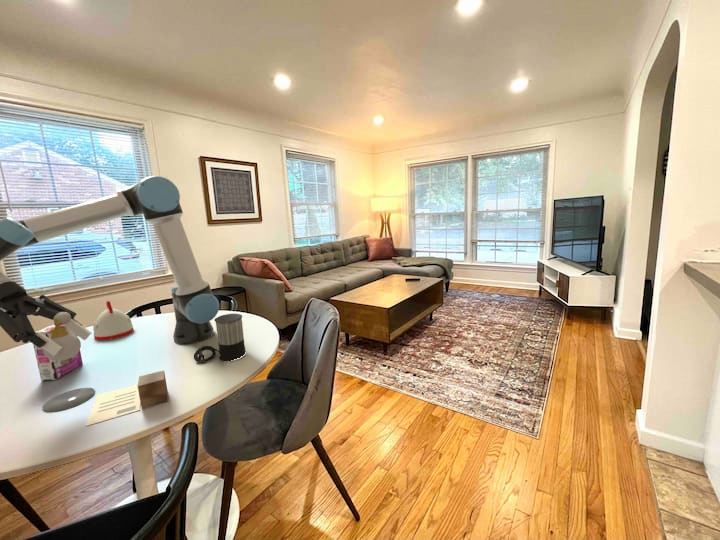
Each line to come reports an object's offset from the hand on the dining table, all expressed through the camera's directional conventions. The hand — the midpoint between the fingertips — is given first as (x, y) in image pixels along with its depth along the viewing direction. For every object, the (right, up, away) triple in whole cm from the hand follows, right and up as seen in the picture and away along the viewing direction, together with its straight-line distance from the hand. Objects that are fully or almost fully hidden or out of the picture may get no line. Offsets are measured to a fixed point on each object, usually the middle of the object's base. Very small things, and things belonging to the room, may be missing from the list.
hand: (73, 343), depth 86 cm
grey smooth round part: (-4, -17, +3) cm, 18 cm away
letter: (+11, -17, +1) cm, 20 cm away
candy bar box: (-21, -15, +19) cm, 32 cm away
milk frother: (+29, -12, +26) cm, 41 cm away
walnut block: (+22, -16, +1) cm, 27 cm away
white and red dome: (-31, -9, +53) cm, 62 cm away
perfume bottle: (-3, -4, 0) cm, 5 cm away
